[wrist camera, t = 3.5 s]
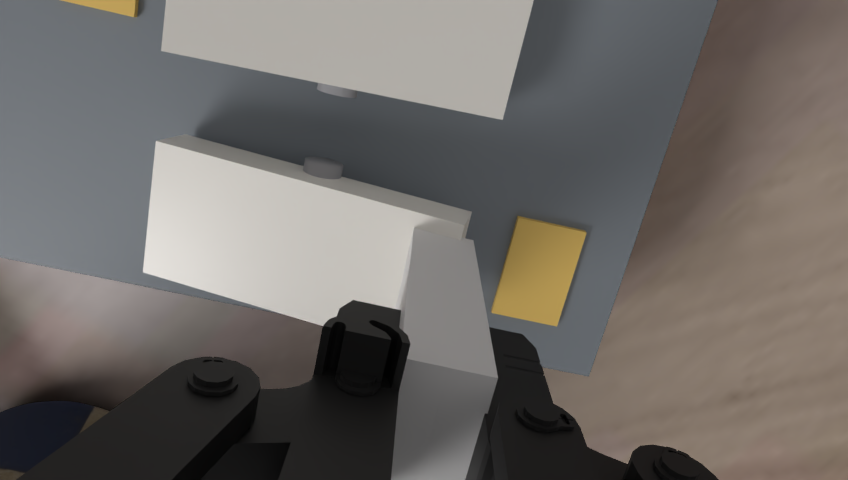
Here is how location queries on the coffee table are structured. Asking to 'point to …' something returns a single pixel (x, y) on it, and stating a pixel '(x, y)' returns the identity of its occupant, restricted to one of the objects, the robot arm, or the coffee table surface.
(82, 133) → the switch unit
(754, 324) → the coffee table surface
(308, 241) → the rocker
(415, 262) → the robot arm
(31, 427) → the canister
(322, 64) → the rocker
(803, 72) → the coffee table surface
